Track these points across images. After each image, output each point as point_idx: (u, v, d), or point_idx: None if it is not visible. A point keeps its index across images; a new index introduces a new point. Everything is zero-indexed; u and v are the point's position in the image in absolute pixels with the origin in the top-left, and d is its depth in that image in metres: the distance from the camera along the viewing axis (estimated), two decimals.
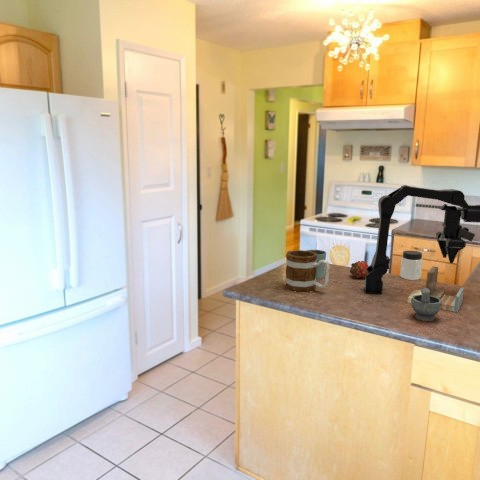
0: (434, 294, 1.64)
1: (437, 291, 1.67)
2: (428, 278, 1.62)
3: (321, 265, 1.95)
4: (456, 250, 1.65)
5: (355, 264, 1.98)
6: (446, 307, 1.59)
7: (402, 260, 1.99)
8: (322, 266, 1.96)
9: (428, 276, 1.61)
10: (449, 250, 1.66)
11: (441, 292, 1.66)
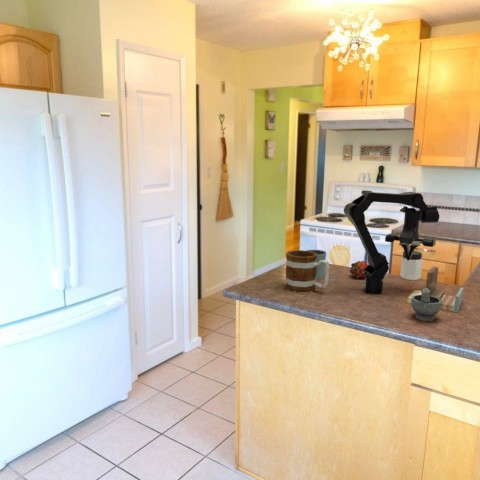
0: (434, 294, 1.64)
1: (437, 291, 1.67)
2: (428, 278, 1.62)
3: (321, 265, 1.95)
4: None
5: (355, 264, 1.98)
6: (446, 307, 1.59)
7: (402, 260, 1.99)
8: (322, 266, 1.96)
9: (428, 276, 1.61)
10: None
11: (441, 292, 1.66)
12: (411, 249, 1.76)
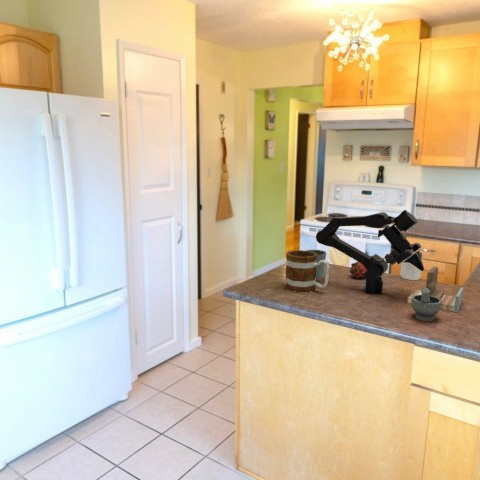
0: (434, 294, 1.64)
1: (437, 291, 1.67)
2: (428, 278, 1.62)
3: (321, 265, 1.95)
4: None
5: (355, 264, 1.98)
6: (446, 307, 1.59)
7: None
8: (322, 266, 1.96)
9: (428, 276, 1.61)
10: None
11: (441, 292, 1.66)
12: None
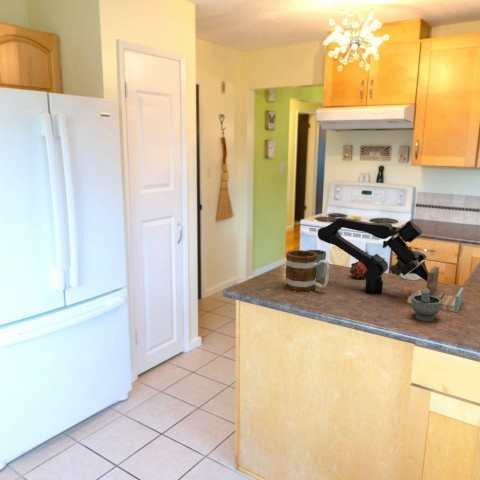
0: (435, 294, 1.64)
1: (438, 291, 1.67)
2: (429, 278, 1.61)
3: (321, 265, 1.95)
4: None
5: (355, 264, 1.98)
6: (446, 307, 1.59)
7: None
8: (322, 266, 1.96)
9: (429, 276, 1.61)
10: None
11: (442, 292, 1.66)
12: None
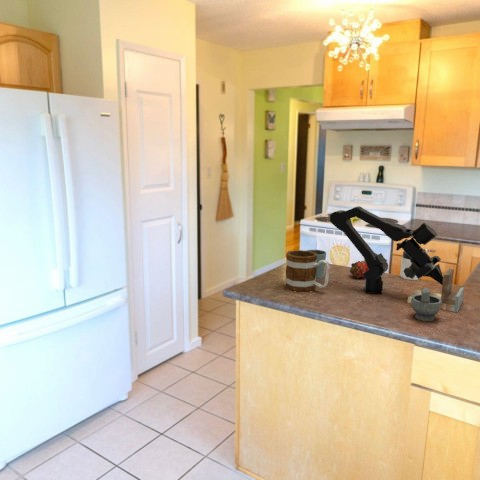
0: (450, 297, 1.61)
1: (453, 294, 1.64)
2: (444, 280, 1.58)
3: (321, 265, 1.95)
4: None
5: (355, 264, 1.98)
6: (446, 307, 1.59)
7: (402, 260, 1.99)
8: (322, 266, 1.96)
9: (444, 278, 1.58)
10: None
11: None
12: None
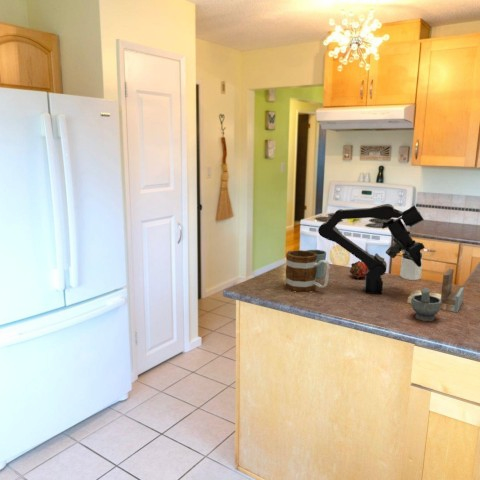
0: (450, 297, 1.61)
1: (453, 294, 1.64)
2: (444, 280, 1.59)
3: (321, 265, 1.95)
4: None
5: (355, 264, 1.98)
6: (446, 307, 1.59)
7: (402, 260, 1.99)
8: (322, 266, 1.96)
9: (444, 278, 1.58)
10: None
11: None
12: (410, 257, 1.70)
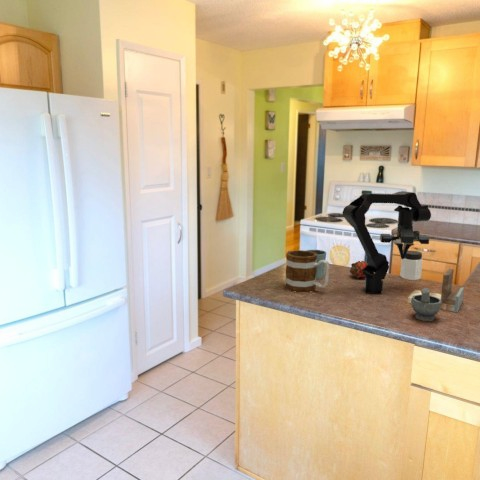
0: (450, 297, 1.61)
1: (453, 294, 1.64)
2: (444, 280, 1.59)
3: (321, 265, 1.95)
4: None
5: (355, 264, 1.98)
6: (446, 307, 1.59)
7: (402, 260, 1.99)
8: (322, 266, 1.96)
9: (444, 278, 1.58)
10: (397, 245, 1.82)
11: None
12: (407, 248, 1.78)
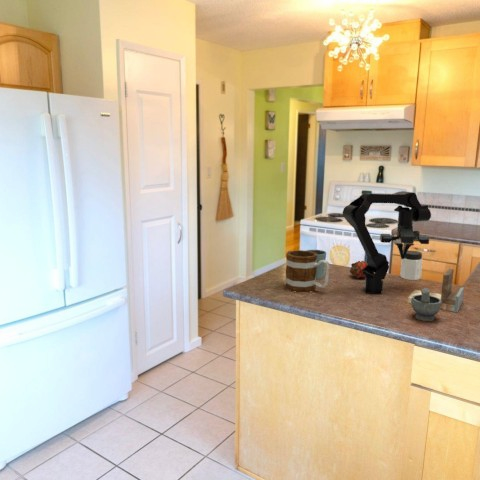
0: (450, 297, 1.61)
1: (453, 294, 1.64)
2: (444, 280, 1.59)
3: (321, 265, 1.95)
4: None
5: (355, 264, 1.98)
6: (446, 307, 1.59)
7: (402, 260, 1.99)
8: (322, 266, 1.96)
9: (444, 278, 1.58)
10: (397, 245, 1.82)
11: None
12: (407, 248, 1.78)
